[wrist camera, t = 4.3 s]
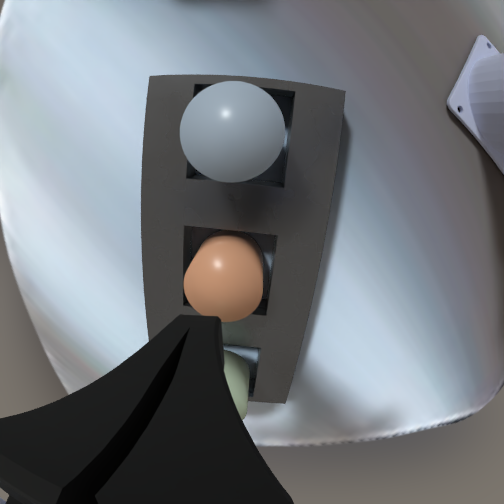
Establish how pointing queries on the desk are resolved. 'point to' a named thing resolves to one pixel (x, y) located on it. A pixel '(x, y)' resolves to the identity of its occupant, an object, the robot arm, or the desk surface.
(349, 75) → the desk surface
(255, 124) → the slate button
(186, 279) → the orange rounded block
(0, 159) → the desk surface
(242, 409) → the sage button
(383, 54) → the desk surface
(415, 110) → the desk surface
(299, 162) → the button panel
